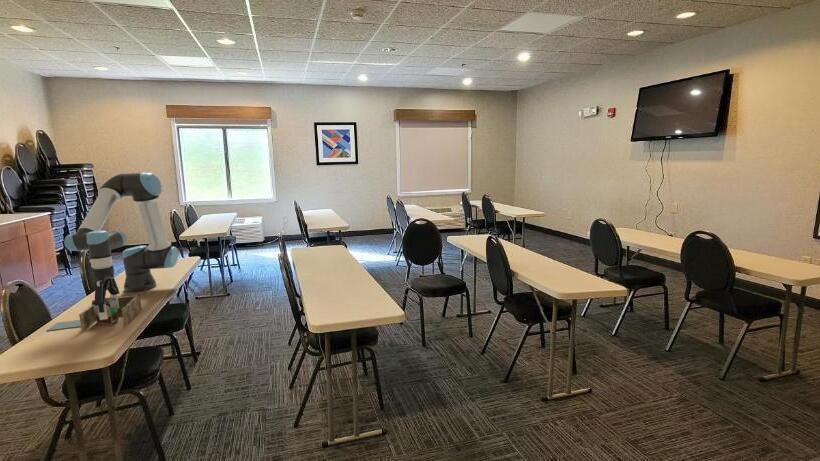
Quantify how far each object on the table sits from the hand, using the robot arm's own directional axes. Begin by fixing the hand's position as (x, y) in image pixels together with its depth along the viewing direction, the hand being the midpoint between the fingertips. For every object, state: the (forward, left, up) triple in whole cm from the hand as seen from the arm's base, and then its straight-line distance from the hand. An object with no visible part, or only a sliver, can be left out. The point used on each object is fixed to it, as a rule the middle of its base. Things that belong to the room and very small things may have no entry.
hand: (110, 313), depth 180 cm
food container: (0, 0, -4) cm, 4 cm away
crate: (-3, 0, -3) cm, 4 cm away
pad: (-2, -15, -3) cm, 16 cm away
